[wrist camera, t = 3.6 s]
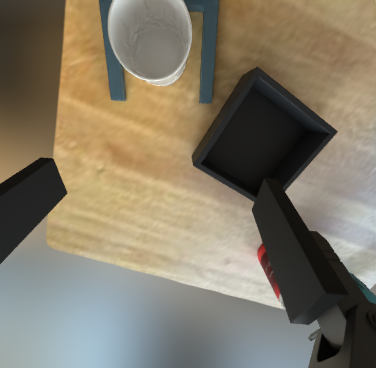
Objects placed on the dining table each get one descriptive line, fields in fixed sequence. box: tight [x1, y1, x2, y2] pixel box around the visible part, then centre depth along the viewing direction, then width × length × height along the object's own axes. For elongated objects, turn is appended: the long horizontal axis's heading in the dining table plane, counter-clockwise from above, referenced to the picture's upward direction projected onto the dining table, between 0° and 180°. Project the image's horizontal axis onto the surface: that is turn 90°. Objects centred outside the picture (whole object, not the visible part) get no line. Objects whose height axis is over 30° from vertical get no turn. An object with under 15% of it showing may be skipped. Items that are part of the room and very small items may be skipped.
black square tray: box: [192, 67, 338, 202], centre depth 28 cm, size 15×15×6 cm
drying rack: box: [99, 0, 219, 104], centre depth 21 cm, size 13×15×11 cm
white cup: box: [108, 0, 192, 87], centre depth 21 cm, size 8×8×10 cm
